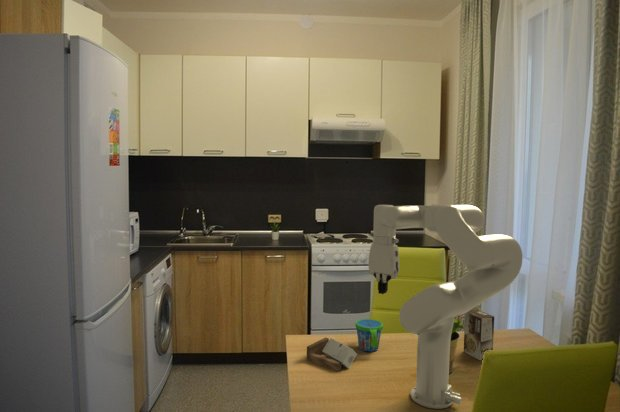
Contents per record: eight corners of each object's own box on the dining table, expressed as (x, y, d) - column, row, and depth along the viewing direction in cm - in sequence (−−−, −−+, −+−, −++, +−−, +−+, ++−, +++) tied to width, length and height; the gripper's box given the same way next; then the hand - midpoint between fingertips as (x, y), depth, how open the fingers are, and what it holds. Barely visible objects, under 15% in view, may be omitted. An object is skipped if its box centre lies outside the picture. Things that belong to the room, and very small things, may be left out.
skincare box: (342, 362, 148) (320, 351, 158) (349, 369, 150) (326, 357, 160) (352, 347, 151) (329, 337, 160) (358, 354, 153) (335, 343, 162)
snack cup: (352, 340, 176) (353, 316, 175) (378, 340, 176) (378, 316, 175) (357, 356, 160) (358, 330, 159) (385, 357, 160) (386, 330, 160)
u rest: (356, 360, 157) (356, 347, 157) (338, 371, 148) (338, 357, 148) (325, 349, 166) (325, 337, 165) (306, 359, 157) (306, 346, 156)
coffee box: (493, 358, 161) (495, 316, 159) (479, 361, 158) (481, 318, 157) (475, 349, 169) (477, 309, 168) (462, 351, 167) (464, 310, 165)
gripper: (409, 241, 146) (407, 294, 147) (370, 237, 155) (369, 287, 156) (399, 244, 140) (397, 299, 141) (359, 239, 149) (358, 291, 151)
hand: (382, 292), depth 149 cm, fingers closed
